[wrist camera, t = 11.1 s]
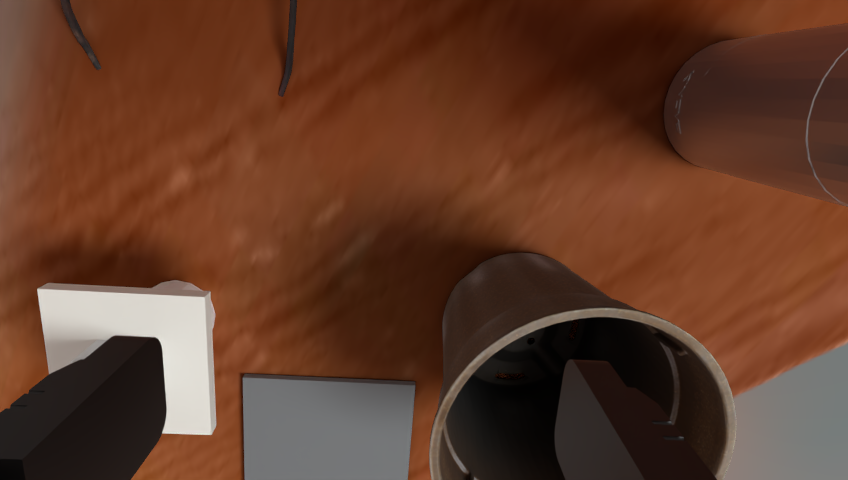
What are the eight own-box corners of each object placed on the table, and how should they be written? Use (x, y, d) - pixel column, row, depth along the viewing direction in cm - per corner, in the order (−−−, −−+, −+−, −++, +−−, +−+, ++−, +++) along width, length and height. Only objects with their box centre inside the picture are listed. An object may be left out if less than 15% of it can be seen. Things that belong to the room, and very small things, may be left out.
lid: (210, 291, 34) (162, 342, 27) (216, 425, 36) (174, 502, 30) (47, 283, 33) (-43, 333, 26) (66, 420, 36) (-12, 497, 29)
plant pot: (617, 214, 41) (751, 292, 25) (616, 395, 45) (729, 556, 30) (408, 236, 40) (413, 329, 25) (428, 417, 45) (443, 590, 29)
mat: (415, 381, 44) (415, 385, 43) (403, 517, 48) (403, 522, 47) (244, 373, 43) (242, 377, 42) (247, 512, 47) (245, 518, 46)
